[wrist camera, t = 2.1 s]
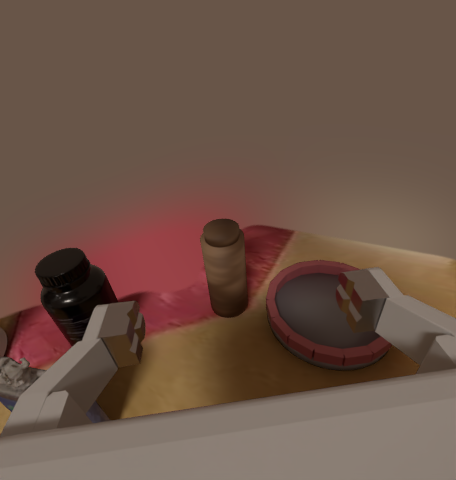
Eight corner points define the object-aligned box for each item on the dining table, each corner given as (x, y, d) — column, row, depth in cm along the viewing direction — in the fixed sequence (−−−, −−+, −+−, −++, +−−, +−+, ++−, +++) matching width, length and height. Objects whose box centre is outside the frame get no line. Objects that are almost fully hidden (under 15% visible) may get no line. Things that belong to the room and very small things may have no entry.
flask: (119, 422, 27) (75, 359, 21) (102, 458, 25) (46, 400, 19) (41, 403, 29) (-19, 340, 23) (19, 434, 27) (-55, 375, 21)
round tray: (284, 380, 29) (285, 366, 28) (257, 280, 41) (256, 268, 40) (423, 359, 30) (431, 345, 28) (356, 267, 42) (359, 254, 41)
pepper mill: (212, 320, 36) (199, 243, 29) (210, 292, 40) (198, 219, 33) (250, 314, 36) (246, 237, 29) (244, 287, 41) (240, 214, 34)
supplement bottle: (73, 321, 38) (30, 251, 31) (125, 305, 40) (95, 235, 33) (69, 365, 33) (15, 292, 26) (128, 344, 34) (94, 270, 27)
